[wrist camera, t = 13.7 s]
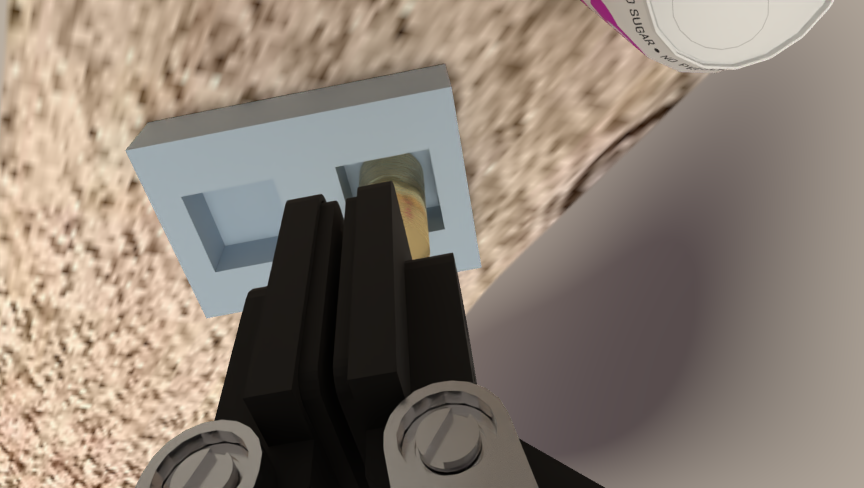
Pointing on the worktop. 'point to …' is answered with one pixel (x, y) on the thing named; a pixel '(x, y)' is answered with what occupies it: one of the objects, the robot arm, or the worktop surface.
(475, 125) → the worktop surface
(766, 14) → the supplement can
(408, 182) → the yellow cylinder
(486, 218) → the worktop surface
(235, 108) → the block
